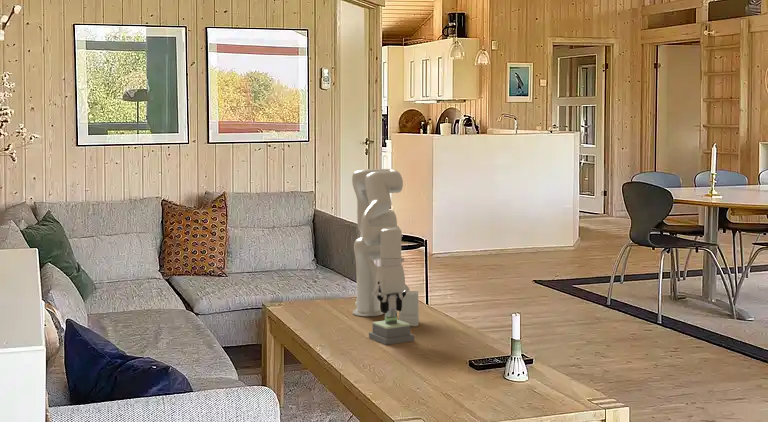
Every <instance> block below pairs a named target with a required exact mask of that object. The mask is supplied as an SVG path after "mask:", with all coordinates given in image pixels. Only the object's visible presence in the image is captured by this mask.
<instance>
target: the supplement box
mask: <svg viewBox="0 0 768 422" xmlns="http://www.w3.org/2000/svg"><path fill="white" fill-rule="evenodd" d="M419 307H420V306H419V290H409V291H408V292H407V293H406V295H405V297H404V298H403V300H402V308H401V311H398V320H400V321H403V322H406V323H409V324H410V327H418V326H419V323H420V321H419V319H420V318H419V316H420V315H419V313H420V311H419Z"/></svg>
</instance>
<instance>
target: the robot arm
mask: <svg viewBox="0 0 768 422" xmlns="http://www.w3.org/2000/svg"><path fill="white" fill-rule="evenodd" d="M351 183H352V187H353V190H354V194H355V197H356V204H357V211H356V212H357V213H356V215H357V216H356V217H357V218H356V219H357V223H356V224H357V228H358V229H357V230H358V231H359V232H360V233H361V235H362V236H361V237H358V238H356V239H355V241H354V243H353V251H354V257H355V270H356V273H355V274H356V275H355V276H356V301H355V302H354V304H355V306H356V308H355V309H353V310H352V314H353V315H354V316H358V317H378V316H382V315H385V313H387V303H386V302H385V301H386V297H387V294H391V293H394V292H395V293H396V294H397V312H399V311H401V308H402V300H403V298H404V297H405V295H406V293H407V292H408V291H411V290H410V288H409V286H408V285H407V284H406V277H405V276H406V275H405V270H404V266H403V265H402V262H405V258H404V257H402V239H403V238H402V237H403V236H402V235H403V234H402V229H401V228H400V227H399V225H398V219H397V214H396V212H395V211H394V210H392V209H391V208H392V205H393V203H392V197H391V194H398V193H401V192H402V190H403V187H404V181H403V176H402V174H401V173H400V172H399V171H398V170H396V169H394V168H367V169H358V170H356V171H354V172H353V173H352V176H351ZM378 260H380V265H378V266H377V265H376V263H375V262H374V261H378Z"/></svg>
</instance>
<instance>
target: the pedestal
mask: <svg viewBox="0 0 768 422" xmlns="http://www.w3.org/2000/svg"><path fill="white" fill-rule="evenodd" d="M368 339H370V340H373V341H375V342H378V343H380V344H382V345H383V346H384V345H385V346H387V345H394V344H400V343H406V342H414V341H415V334H412V333H411V326H410V324H409V323H406V322H403V321H400V320H399V319H398V320H397V323H395V324H386V323H385V319H384V320H380V321H379V320H377V321H372V331H370V332H368Z"/></svg>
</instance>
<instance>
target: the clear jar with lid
mask: <svg viewBox="0 0 768 422" xmlns="http://www.w3.org/2000/svg"><path fill="white" fill-rule="evenodd" d="M385 302H386V303H387V313H384V320H385V323H386V324H395V323H397V320H399V315H398V311H397V294H396V293H395V292H394V293H391V294H387V297H386V301H385Z"/></svg>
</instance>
